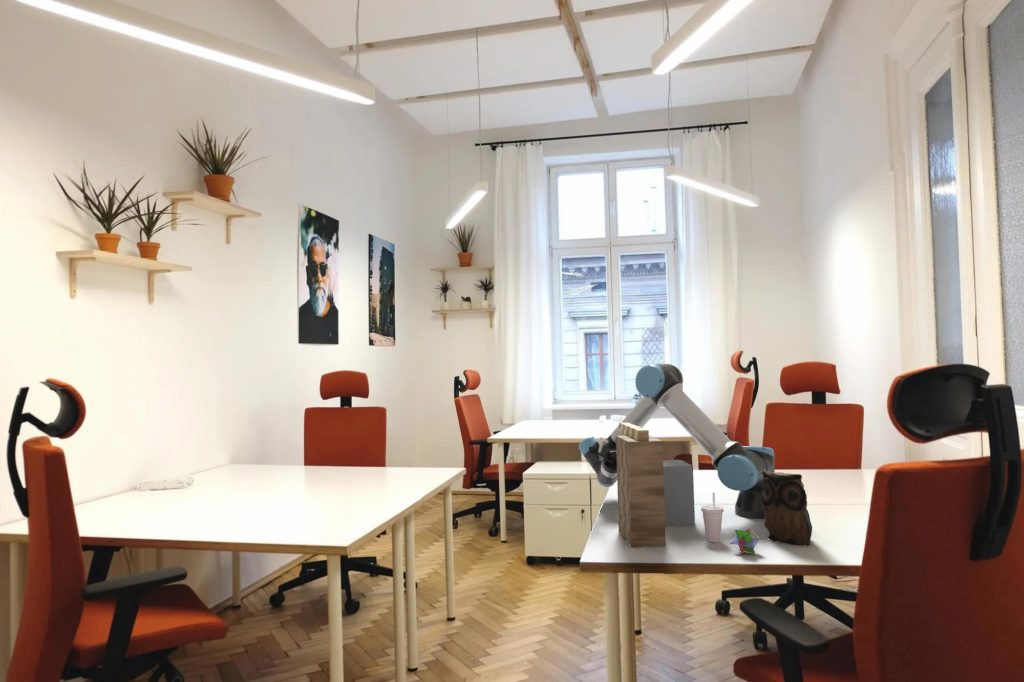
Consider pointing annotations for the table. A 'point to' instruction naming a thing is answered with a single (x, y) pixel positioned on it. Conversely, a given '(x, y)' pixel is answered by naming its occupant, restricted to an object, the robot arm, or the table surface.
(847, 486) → the table surface
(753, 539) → the geometric puzzle
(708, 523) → the smoothie
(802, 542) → the owl
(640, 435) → the notched wooden bar
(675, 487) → the block
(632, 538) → the tall wooden pillar
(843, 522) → the table surface
